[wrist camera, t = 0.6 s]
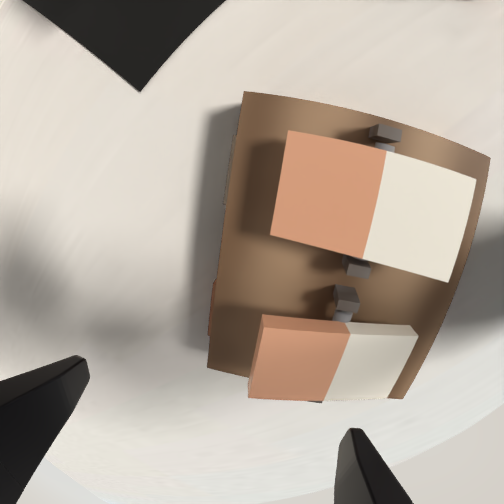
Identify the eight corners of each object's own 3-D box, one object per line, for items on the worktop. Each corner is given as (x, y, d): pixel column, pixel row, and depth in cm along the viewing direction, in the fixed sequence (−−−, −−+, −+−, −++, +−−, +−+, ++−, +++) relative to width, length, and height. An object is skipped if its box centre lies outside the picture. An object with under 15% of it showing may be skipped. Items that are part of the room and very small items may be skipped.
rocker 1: (463, 170, 12) (478, 171, 10) (436, 275, 14) (445, 290, 12) (298, 127, 15) (289, 121, 13) (279, 233, 17) (268, 242, 15)
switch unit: (467, 155, 16) (508, 159, 11) (394, 375, 22) (407, 417, 17) (248, 100, 17) (229, 82, 13) (213, 343, 23) (194, 384, 19)
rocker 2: (405, 312, 17) (421, 330, 15) (374, 382, 19) (384, 402, 17) (262, 299, 16) (265, 320, 14) (246, 378, 18) (247, 402, 16)
